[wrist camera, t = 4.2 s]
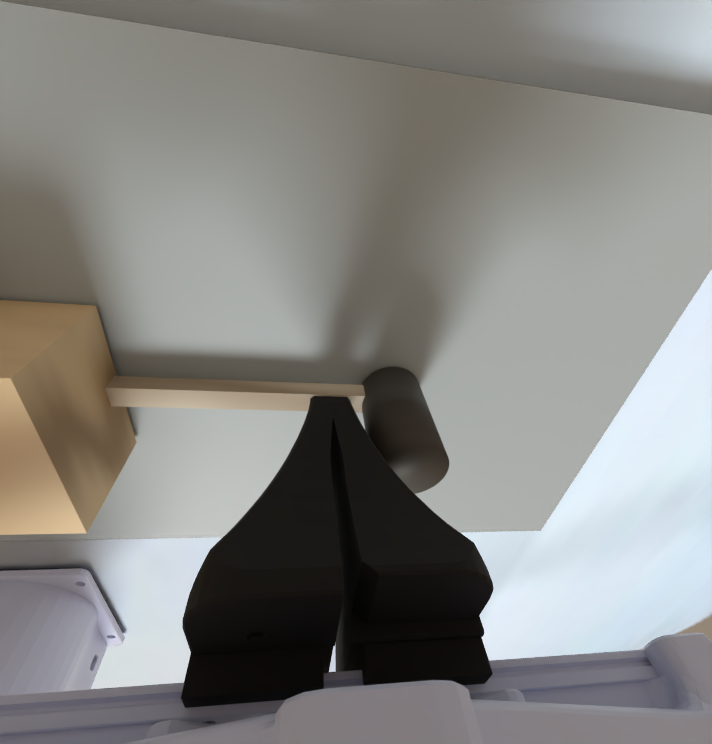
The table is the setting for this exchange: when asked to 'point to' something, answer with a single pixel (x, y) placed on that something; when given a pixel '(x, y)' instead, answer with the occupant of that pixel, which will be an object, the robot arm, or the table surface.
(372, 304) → the lane
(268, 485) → the robot arm
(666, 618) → the table surface
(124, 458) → the wooden mallet
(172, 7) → the table surface
